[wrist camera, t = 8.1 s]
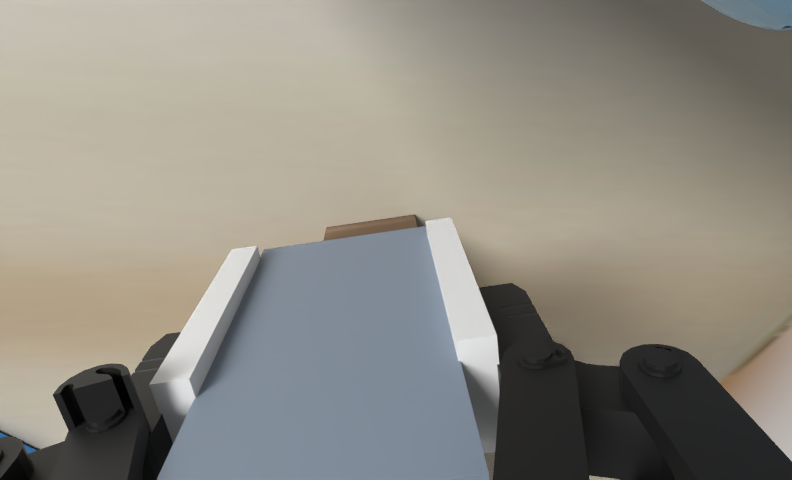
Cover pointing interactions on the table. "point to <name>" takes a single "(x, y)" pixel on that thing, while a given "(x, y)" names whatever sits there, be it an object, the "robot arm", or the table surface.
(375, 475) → the domino
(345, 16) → the table surface
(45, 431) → the table surface
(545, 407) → the robot arm
